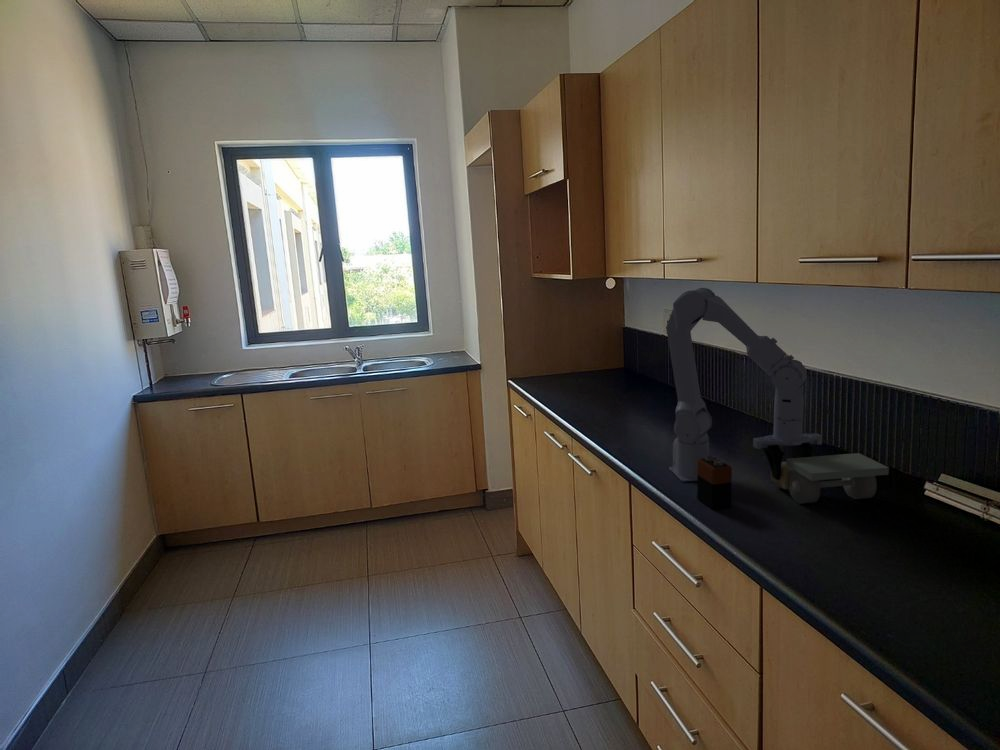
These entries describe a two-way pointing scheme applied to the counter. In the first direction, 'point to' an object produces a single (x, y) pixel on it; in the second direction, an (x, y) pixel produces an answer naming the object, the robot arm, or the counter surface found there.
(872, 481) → the trolley
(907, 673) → the counter surface
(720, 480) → the battery
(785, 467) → the chock
